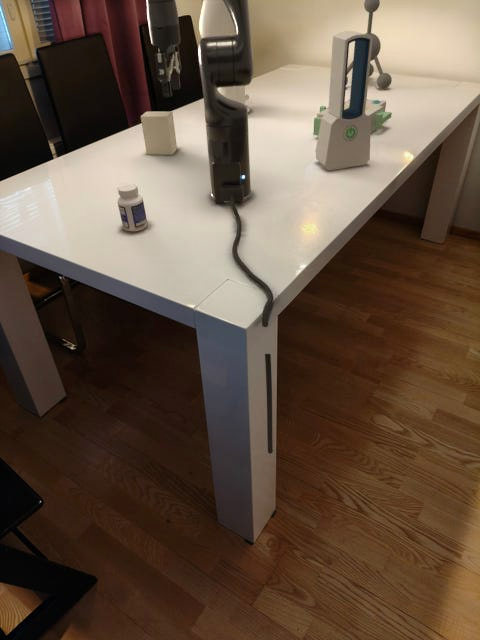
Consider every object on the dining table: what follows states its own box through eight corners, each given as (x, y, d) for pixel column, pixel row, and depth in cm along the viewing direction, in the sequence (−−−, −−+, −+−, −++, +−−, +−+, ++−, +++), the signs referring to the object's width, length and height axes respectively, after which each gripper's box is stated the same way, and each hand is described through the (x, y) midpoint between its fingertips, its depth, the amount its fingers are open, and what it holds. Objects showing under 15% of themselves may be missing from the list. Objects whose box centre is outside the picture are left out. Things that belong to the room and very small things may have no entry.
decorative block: (340, 93, 160) (399, 100, 150) (339, 114, 164) (396, 122, 154) (301, 113, 144) (364, 122, 134) (300, 136, 148) (362, 146, 138)
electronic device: (325, 171, 125) (333, 37, 106) (314, 161, 130) (320, 32, 112) (369, 164, 127) (385, 32, 108) (356, 155, 133) (369, 28, 114)
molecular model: (320, 82, 200) (324, -5, 182) (368, 76, 205) (377, -10, 186) (347, 95, 182) (354, 0, 164) (399, 88, 187) (412, -5, 168)
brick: (152, 148, 146) (146, 111, 139) (177, 149, 144) (172, 111, 138) (146, 154, 142) (140, 116, 135) (172, 154, 141) (167, 116, 134)
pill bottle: (149, 220, 107) (142, 181, 102) (146, 231, 103) (138, 191, 98) (125, 221, 107) (116, 182, 102) (121, 232, 103) (112, 193, 98)
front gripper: (157, 20, 128) (166, 87, 137) (140, 27, 116) (150, 99, 126) (185, 19, 126) (192, 87, 136) (170, 25, 115) (178, 99, 125)
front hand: (172, 93), depth 131 cm, fingers open, 8 cm apart
